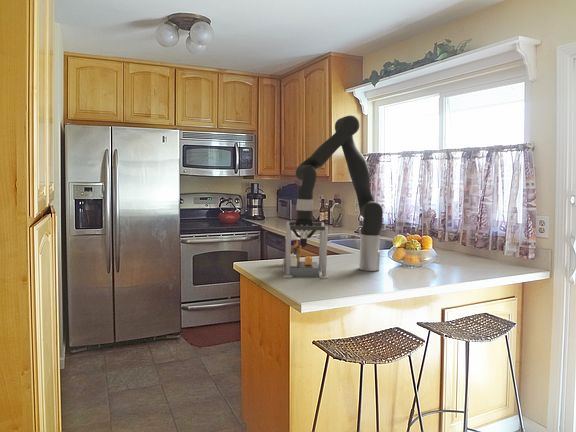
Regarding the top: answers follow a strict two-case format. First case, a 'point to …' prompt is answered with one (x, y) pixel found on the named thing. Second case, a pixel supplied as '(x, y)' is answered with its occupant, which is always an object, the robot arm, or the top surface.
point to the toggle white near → (293, 262)
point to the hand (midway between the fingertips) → (303, 246)
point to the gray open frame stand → (322, 245)
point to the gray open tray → (302, 269)
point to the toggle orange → (308, 260)
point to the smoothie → (295, 245)
